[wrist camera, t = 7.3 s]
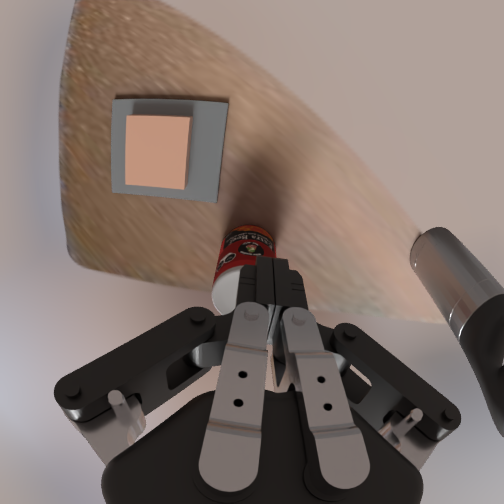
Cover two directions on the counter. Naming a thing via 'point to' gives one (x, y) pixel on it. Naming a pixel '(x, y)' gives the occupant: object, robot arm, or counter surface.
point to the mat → (201, 148)
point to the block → (157, 150)
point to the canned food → (238, 262)
